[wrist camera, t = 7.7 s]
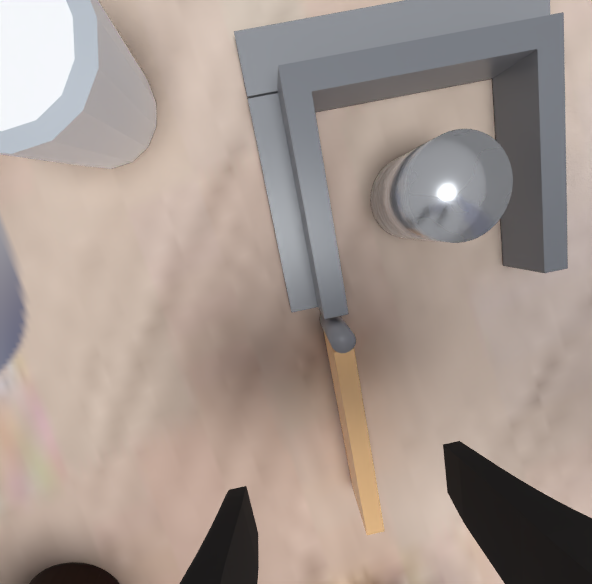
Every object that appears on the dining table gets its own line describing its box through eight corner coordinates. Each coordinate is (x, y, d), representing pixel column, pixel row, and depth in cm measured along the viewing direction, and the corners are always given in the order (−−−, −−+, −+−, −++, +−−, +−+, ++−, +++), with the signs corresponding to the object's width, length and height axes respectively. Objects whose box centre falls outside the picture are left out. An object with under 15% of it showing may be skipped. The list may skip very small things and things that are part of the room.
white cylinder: (73, -6, 15) (-90, -193, 8) (197, 98, 16) (144, 10, 10) (-4, 118, 16) (-209, 41, 9) (120, 209, 17) (21, 200, 10)
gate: (318, 311, 19) (328, 332, 15) (338, 307, 19) (353, 326, 15) (351, 488, 21) (366, 540, 18) (369, 484, 22) (388, 535, 18)
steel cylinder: (444, 148, 18) (509, 119, 13) (451, 230, 19) (515, 231, 14) (365, 163, 18) (401, 139, 13) (376, 245, 19) (413, 251, 14)
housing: (539, -17, 16) (597, -70, 14) (547, 256, 19) (596, 262, 16) (235, 38, 16) (227, -3, 13) (291, 309, 19) (294, 325, 16)
